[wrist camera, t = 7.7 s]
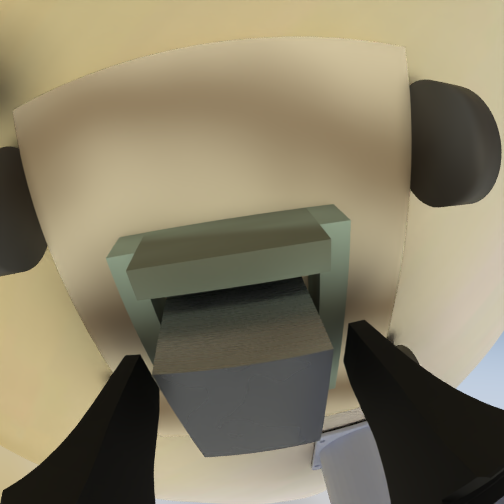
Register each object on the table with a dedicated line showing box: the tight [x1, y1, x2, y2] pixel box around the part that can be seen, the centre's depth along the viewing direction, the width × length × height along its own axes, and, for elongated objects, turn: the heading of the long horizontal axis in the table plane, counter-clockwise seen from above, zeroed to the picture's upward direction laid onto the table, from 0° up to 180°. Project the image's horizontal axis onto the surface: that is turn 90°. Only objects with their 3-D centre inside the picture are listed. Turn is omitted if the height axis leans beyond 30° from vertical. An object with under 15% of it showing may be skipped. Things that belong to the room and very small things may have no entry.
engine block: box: [152, 276, 334, 457], centre depth 9 cm, size 5×4×5 cm
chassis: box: [0, 37, 501, 437], centre depth 11 cm, size 20×17×4 cm
